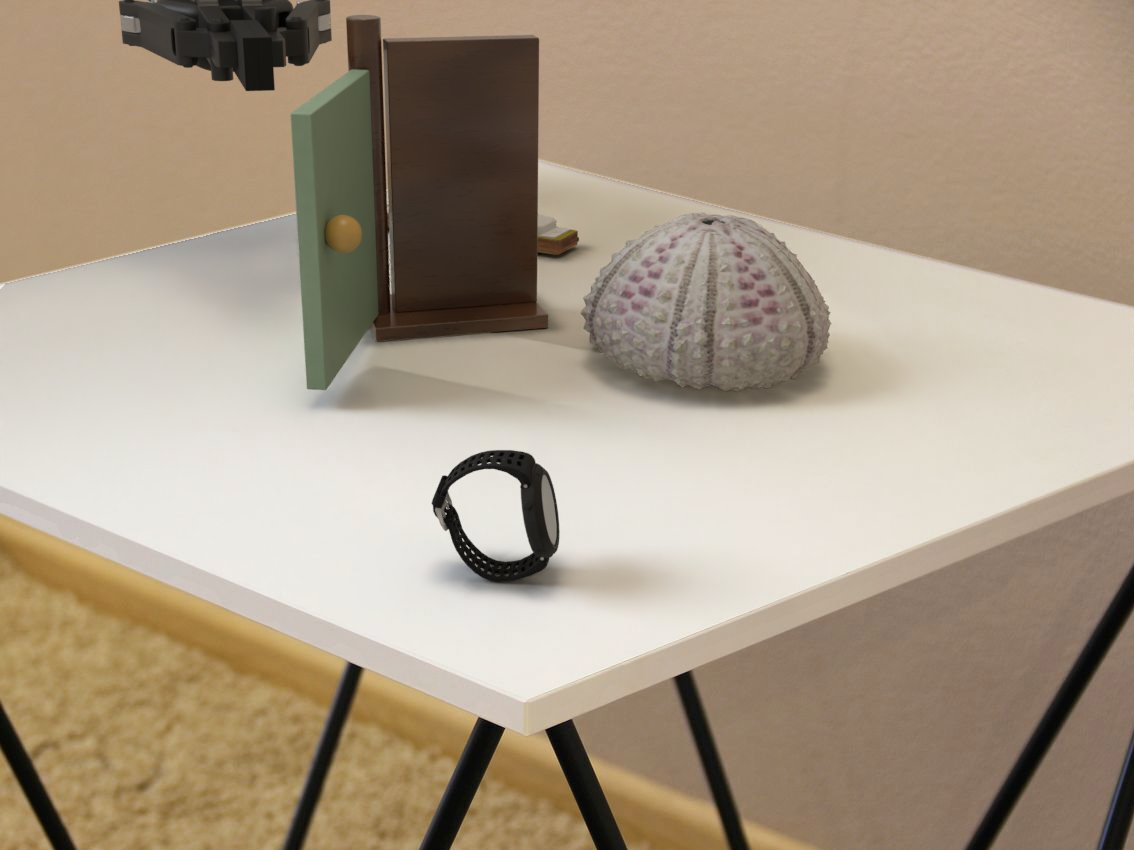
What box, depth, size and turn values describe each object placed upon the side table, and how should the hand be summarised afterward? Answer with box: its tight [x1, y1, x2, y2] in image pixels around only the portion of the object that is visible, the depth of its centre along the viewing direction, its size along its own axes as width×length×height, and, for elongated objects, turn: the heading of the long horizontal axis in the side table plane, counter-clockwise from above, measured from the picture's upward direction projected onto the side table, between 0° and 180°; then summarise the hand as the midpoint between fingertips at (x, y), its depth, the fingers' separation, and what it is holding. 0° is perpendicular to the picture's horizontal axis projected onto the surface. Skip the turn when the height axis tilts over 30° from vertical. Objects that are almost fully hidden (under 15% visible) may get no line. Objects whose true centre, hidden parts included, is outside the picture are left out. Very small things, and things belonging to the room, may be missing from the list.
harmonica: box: [387, 204, 580, 256], centre depth 104 cm, size 15×3×2 cm, turn 64°
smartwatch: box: [431, 449, 560, 583], centre depth 60 cm, size 4×5×5 cm
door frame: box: [345, 14, 549, 342], centre depth 85 cm, size 10×6×17 cm, turn 108°
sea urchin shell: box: [580, 212, 832, 393], centre depth 81 cm, size 13×14×8 cm
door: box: [290, 69, 378, 391], centre depth 78 cm, size 12×3×14 cm, turn 175°
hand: (258, 64), depth 79 cm, fingers closed
